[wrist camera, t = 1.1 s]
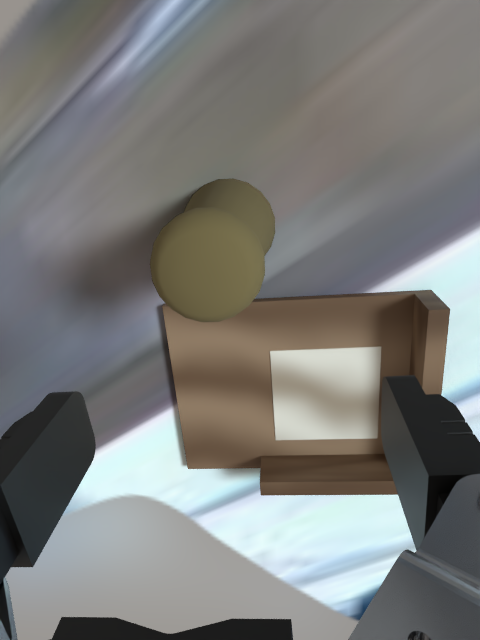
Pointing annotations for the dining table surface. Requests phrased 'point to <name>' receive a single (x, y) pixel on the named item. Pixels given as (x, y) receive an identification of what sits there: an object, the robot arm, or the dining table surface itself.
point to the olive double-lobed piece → (214, 252)
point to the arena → (303, 385)
